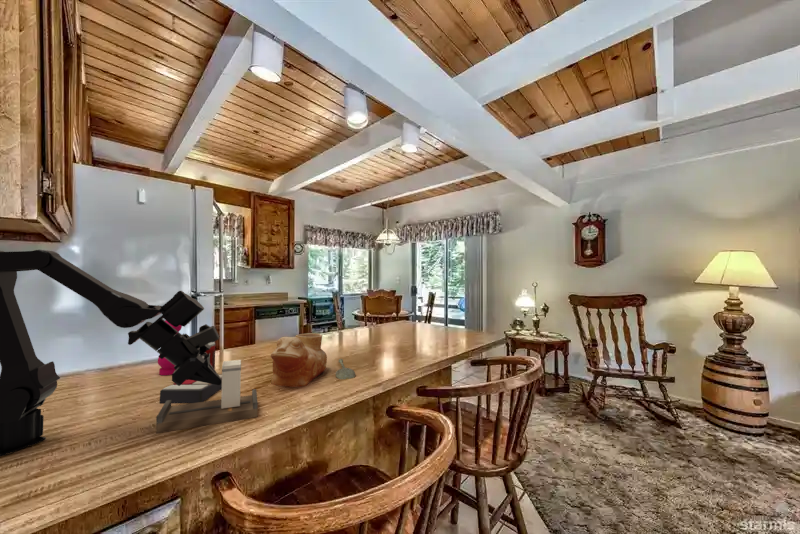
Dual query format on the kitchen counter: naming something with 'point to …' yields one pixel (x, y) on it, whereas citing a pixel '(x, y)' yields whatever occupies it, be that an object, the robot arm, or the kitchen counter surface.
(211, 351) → the canned food
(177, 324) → the robot arm
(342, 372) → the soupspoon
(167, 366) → the pepper mill
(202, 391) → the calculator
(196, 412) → the panel
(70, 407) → the kitchen counter surface
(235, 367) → the slider knob
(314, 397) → the kitchen counter surface
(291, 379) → the ceramic vessel
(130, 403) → the kitchen counter surface
